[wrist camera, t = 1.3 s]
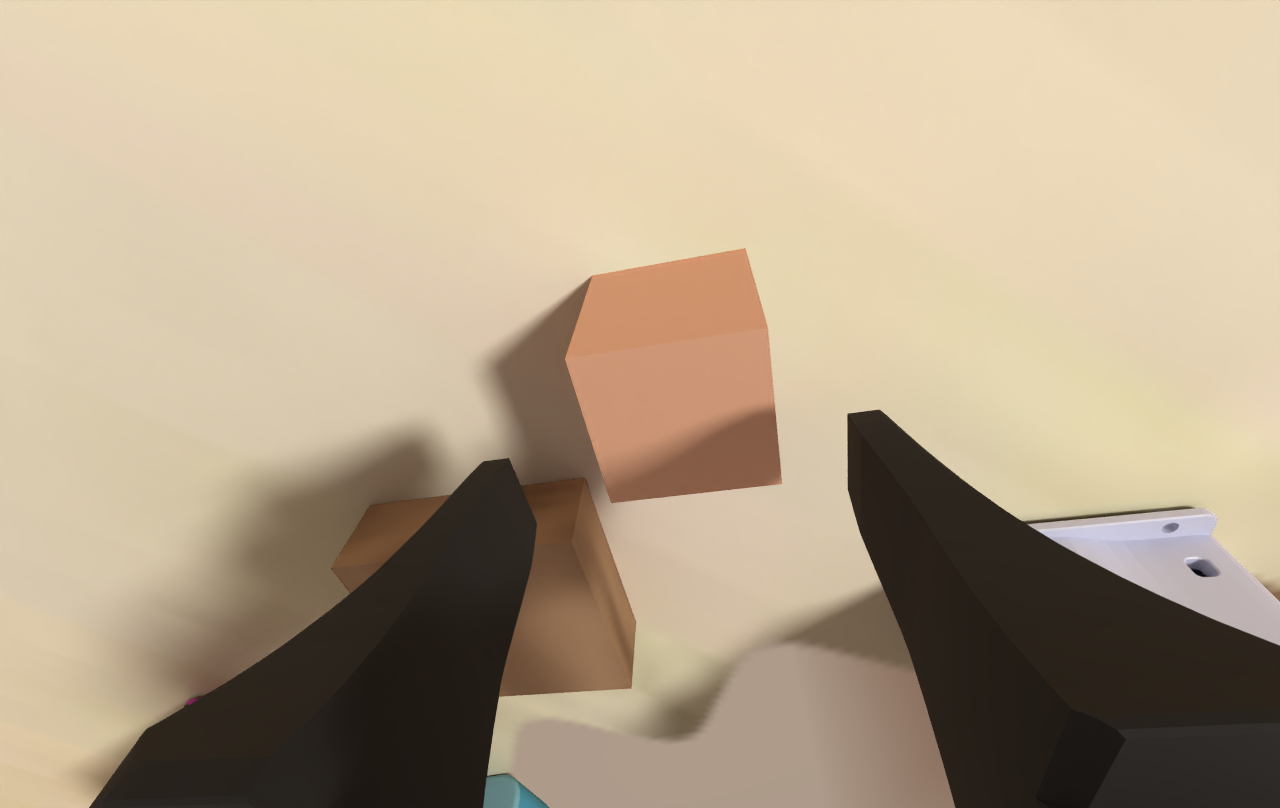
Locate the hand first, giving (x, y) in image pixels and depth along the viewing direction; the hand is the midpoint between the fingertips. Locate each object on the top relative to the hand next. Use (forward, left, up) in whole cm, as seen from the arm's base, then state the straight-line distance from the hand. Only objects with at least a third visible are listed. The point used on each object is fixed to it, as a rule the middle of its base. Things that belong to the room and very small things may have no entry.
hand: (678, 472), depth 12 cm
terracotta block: (0, 0, -7) cm, 7 cm away
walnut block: (+9, +10, -7) cm, 15 cm away
